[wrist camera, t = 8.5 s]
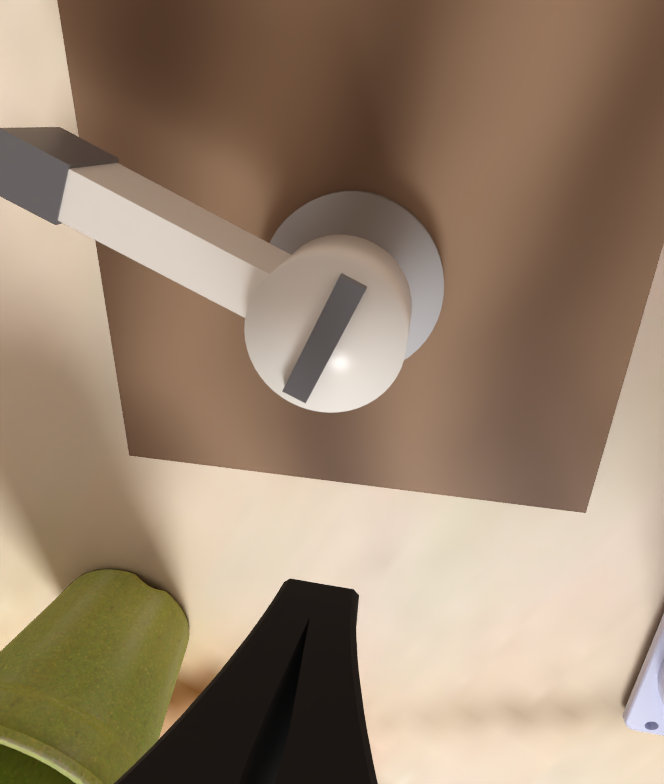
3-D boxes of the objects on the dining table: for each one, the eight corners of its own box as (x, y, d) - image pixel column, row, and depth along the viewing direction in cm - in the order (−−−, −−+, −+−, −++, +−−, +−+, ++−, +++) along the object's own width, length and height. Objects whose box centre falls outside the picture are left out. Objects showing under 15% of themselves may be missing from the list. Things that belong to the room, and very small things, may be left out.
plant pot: (180, 525, 23) (51, 725, 15) (253, 680, 27) (178, 905, 19) (3, 547, 26) (-183, 729, 18) (92, 686, 29) (-32, 887, 22)
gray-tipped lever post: (70, 80, 13) (-14, 71, 11) (438, 278, 14) (438, 311, 11) (42, 220, 15) (-37, 240, 12) (371, 392, 15) (357, 443, 13)
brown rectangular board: (711, 3, 13) (781, -28, 10) (577, 491, 19) (599, 550, 17) (83, 2, 15) (7, -23, 13) (144, 438, 21) (103, 483, 19)
